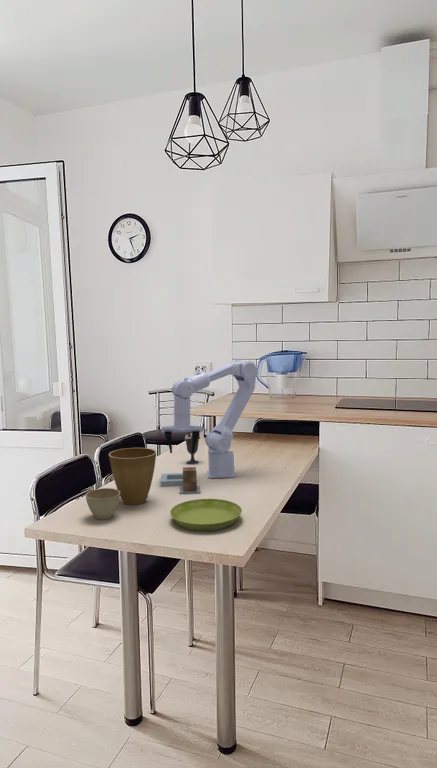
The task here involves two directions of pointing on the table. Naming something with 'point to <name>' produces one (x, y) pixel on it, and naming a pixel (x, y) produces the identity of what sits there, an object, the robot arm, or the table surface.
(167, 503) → the table surface
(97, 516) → the flower pot
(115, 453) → the plant pot
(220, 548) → the table surface
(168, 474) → the pocket holder
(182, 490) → the plate
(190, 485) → the walnut block
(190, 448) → the sundae
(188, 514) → the saucer
